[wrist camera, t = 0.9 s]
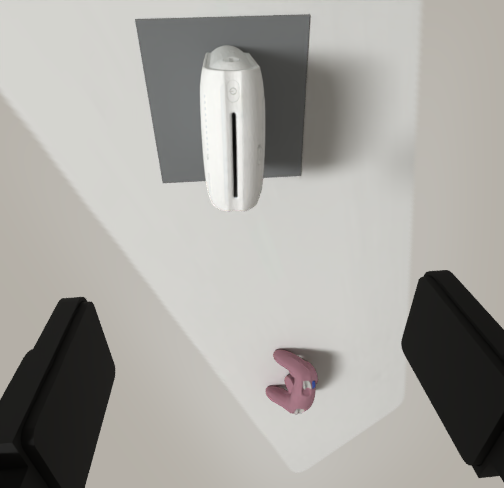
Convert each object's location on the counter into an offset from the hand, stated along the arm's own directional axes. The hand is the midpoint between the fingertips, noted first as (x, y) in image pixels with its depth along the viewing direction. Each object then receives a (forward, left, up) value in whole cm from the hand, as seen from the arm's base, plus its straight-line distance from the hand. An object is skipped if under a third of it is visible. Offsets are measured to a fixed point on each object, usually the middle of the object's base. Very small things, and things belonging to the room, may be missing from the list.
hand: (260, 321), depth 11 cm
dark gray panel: (0, 0, -27) cm, 27 cm away
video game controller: (+38, +7, -27) cm, 47 cm away
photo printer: (0, 0, -27) cm, 27 cm away
